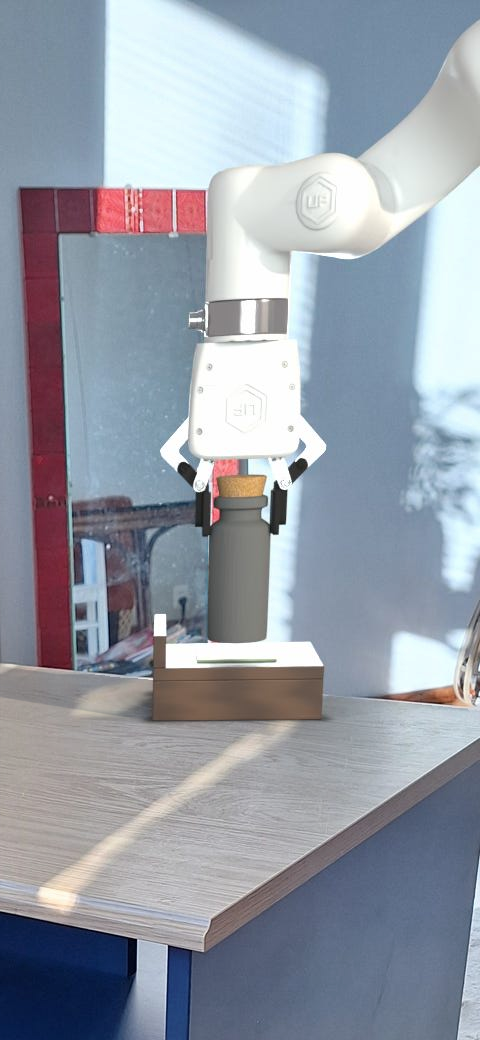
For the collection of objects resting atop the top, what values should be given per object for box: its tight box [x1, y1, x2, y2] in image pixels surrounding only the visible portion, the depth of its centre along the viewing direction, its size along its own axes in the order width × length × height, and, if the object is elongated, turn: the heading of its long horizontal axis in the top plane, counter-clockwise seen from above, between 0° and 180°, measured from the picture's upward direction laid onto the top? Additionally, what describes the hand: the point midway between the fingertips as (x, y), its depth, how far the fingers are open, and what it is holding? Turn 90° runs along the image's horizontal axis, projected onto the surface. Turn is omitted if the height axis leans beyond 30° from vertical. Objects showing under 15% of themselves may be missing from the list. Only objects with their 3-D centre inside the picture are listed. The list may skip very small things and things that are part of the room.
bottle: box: [206, 473, 272, 644], centre depth 141 cm, size 6×6×15 cm
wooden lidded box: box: [152, 613, 325, 722], centre depth 145 cm, size 16×14×8 cm
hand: (239, 532), depth 140 cm, fingers closed on bottle, 5 cm apart
